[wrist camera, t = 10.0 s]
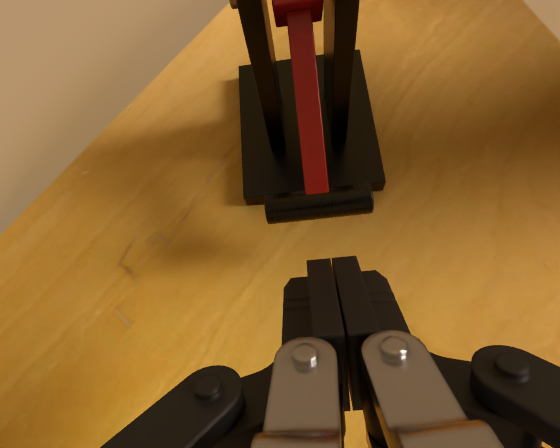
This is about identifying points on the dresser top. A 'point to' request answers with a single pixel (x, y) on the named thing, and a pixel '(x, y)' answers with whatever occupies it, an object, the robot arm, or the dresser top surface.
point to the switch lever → (310, 130)
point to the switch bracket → (283, 115)
